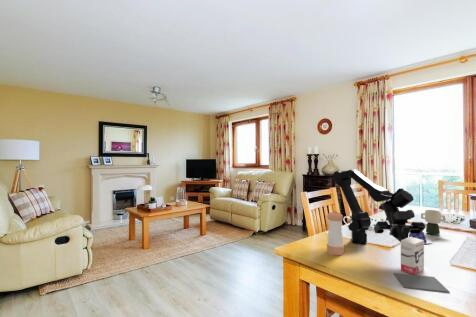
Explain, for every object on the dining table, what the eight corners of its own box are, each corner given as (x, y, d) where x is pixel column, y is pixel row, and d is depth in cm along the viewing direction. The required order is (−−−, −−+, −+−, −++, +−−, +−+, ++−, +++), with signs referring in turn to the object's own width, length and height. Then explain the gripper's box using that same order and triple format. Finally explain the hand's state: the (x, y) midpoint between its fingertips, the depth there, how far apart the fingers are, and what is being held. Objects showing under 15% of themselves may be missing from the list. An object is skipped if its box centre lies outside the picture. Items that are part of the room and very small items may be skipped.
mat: (403, 287, 86) (403, 286, 86) (393, 273, 96) (393, 272, 96) (449, 292, 83) (449, 291, 83) (434, 277, 93) (434, 276, 93)
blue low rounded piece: (403, 236, 142) (403, 226, 142) (430, 240, 135) (430, 230, 135) (403, 242, 132) (403, 232, 132) (432, 246, 125) (432, 236, 125)
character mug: (445, 234, 144) (445, 211, 144) (444, 237, 138) (444, 213, 138) (421, 230, 151) (421, 208, 151) (420, 233, 146) (420, 210, 145)
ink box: (414, 275, 95) (414, 243, 95) (400, 270, 99) (400, 240, 99) (424, 269, 100) (424, 239, 100) (410, 265, 104) (410, 236, 104)
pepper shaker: (331, 248, 123) (331, 208, 123) (346, 252, 118) (346, 210, 118) (324, 252, 118) (323, 211, 118) (339, 256, 113) (339, 213, 113)
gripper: (376, 202, 109) (389, 236, 98) (422, 202, 108) (441, 237, 97) (368, 216, 117) (380, 249, 106) (411, 217, 115) (428, 250, 104)
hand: (407, 246), depth 103 cm, fingers closed
